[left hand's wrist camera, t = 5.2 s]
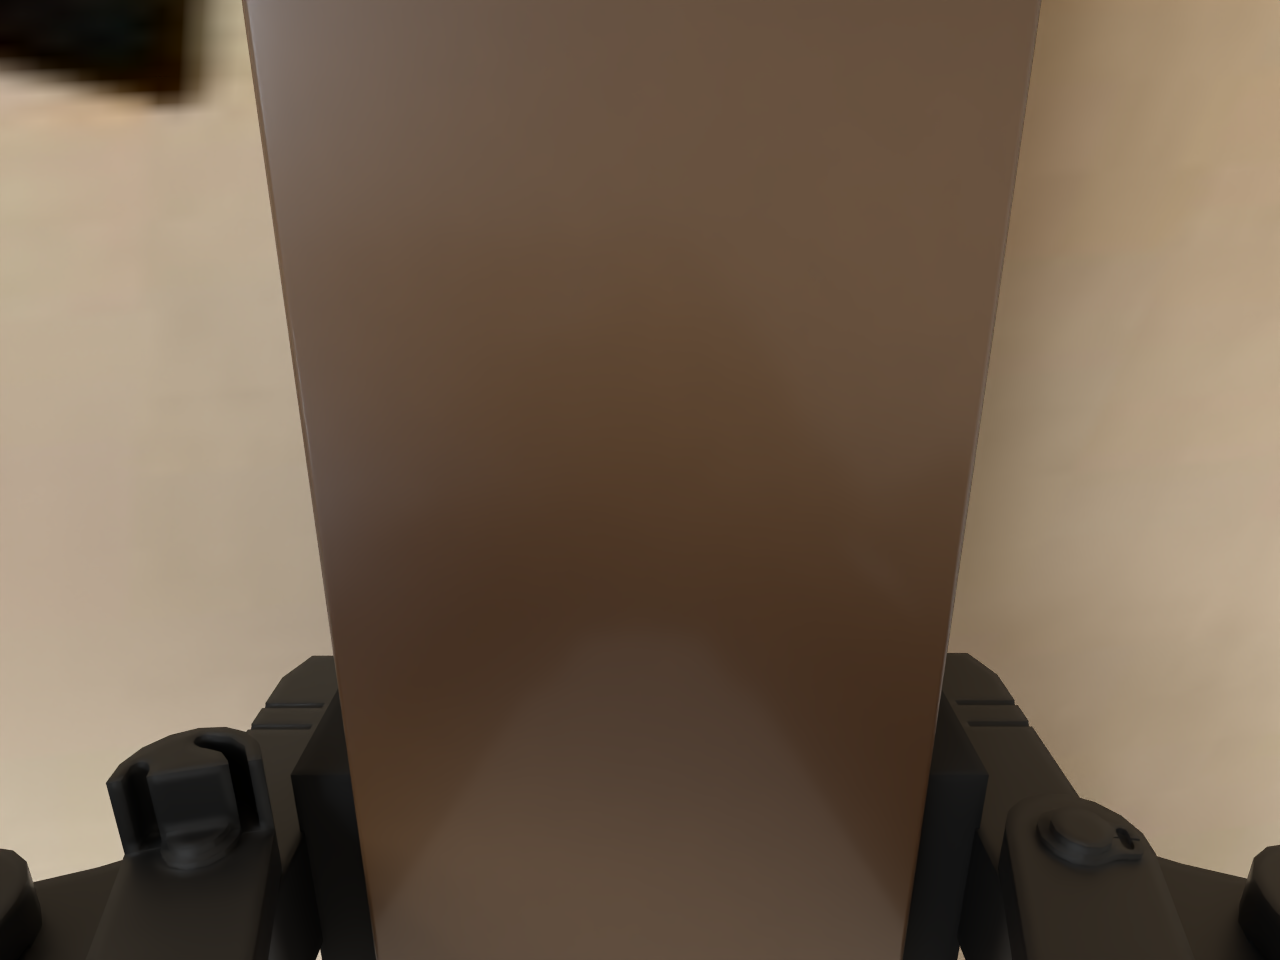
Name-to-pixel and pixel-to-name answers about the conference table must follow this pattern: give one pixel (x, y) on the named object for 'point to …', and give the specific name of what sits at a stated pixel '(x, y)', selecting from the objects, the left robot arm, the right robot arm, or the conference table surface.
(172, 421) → the conference table surface
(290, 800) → the left robot arm
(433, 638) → the beam
